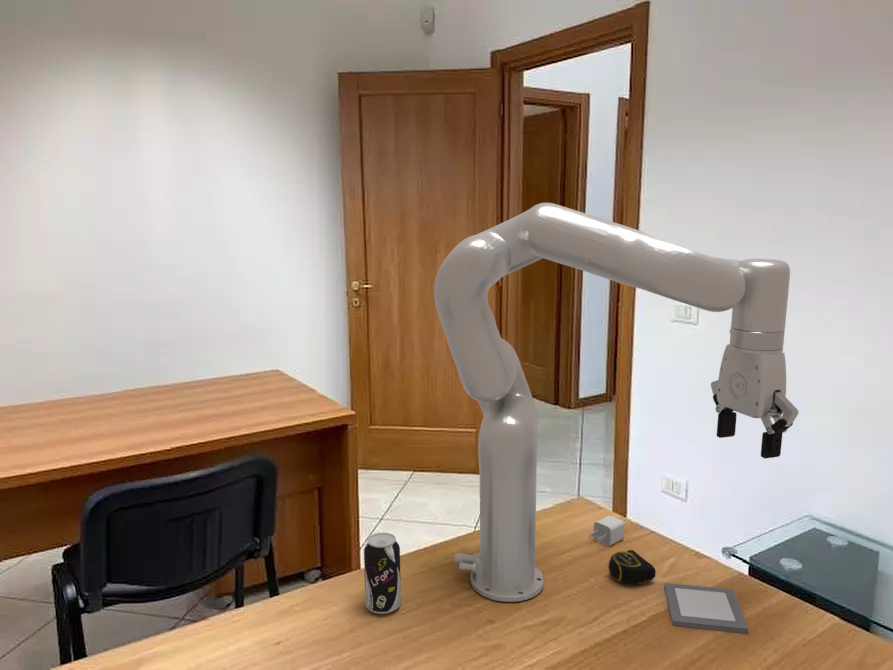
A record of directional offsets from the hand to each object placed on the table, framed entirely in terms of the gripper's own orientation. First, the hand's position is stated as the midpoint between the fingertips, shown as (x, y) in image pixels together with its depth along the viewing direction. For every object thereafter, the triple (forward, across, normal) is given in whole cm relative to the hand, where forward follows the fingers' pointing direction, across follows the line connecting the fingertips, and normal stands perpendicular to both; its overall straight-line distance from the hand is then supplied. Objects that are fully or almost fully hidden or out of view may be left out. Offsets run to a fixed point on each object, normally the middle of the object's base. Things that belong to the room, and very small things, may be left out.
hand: (747, 446), depth 107 cm
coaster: (+27, +1, -7) cm, 27 cm away
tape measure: (+27, -12, -12) cm, 32 cm away
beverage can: (+27, -16, -55) cm, 64 cm away
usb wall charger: (+27, -24, -10) cm, 37 cm away
